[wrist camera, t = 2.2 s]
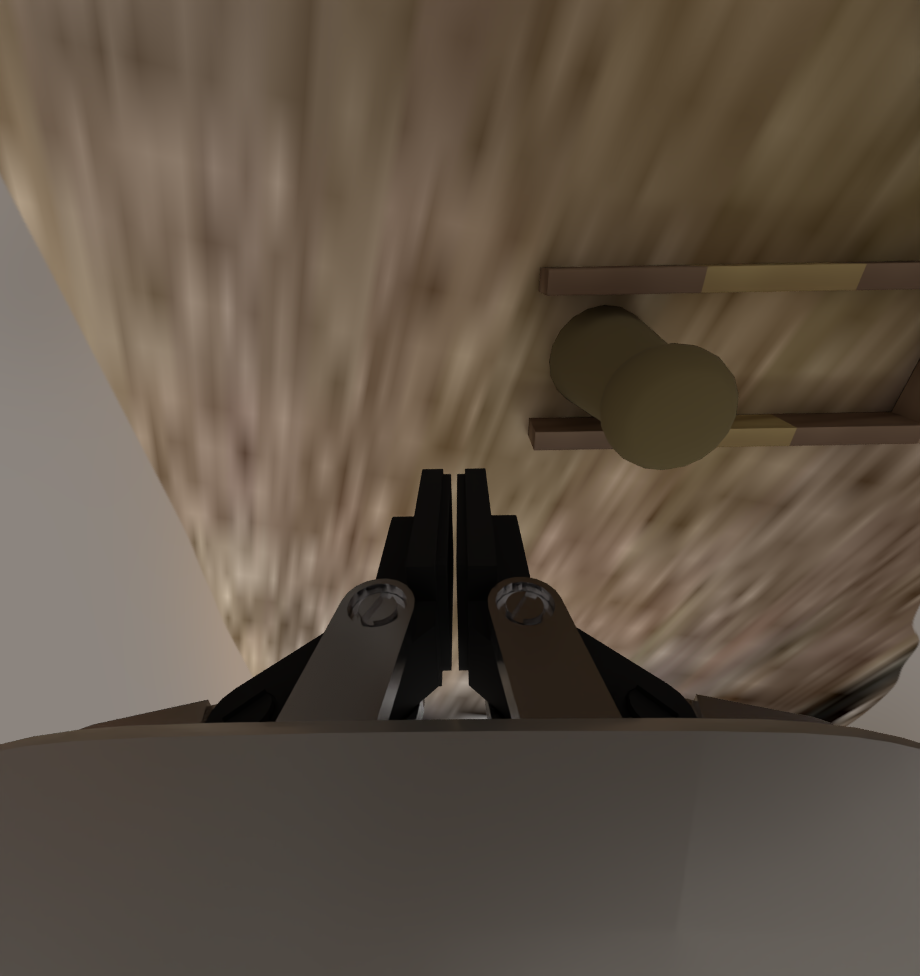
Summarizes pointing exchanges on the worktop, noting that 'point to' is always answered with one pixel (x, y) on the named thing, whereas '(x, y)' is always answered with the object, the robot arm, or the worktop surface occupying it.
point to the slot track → (916, 407)
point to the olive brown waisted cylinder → (644, 388)
